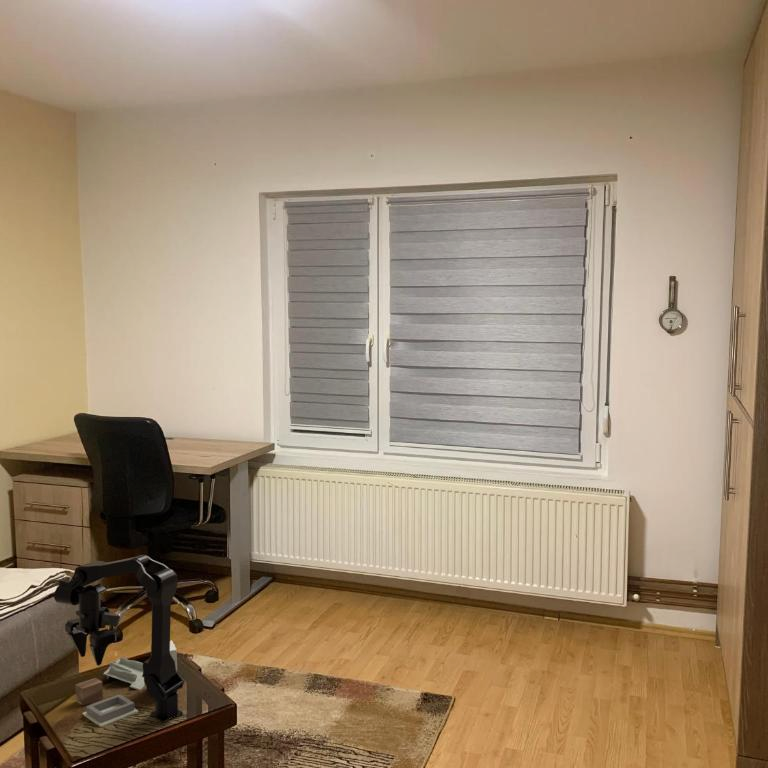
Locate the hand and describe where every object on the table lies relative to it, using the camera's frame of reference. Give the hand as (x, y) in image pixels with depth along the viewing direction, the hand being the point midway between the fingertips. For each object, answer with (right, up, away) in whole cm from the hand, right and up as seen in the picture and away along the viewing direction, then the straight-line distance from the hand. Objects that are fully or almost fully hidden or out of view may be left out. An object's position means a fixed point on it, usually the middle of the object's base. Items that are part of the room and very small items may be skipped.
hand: (90, 660), depth 222 cm
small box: (+19, -11, +6) cm, 23 cm away
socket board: (+8, -12, -8) cm, 17 cm away
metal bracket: (+6, -11, +14) cm, 19 cm away
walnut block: (0, -11, 0) cm, 11 cm away
